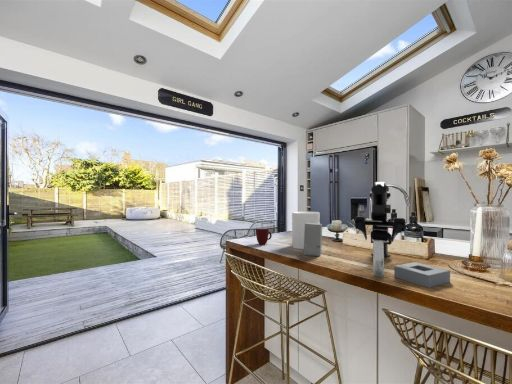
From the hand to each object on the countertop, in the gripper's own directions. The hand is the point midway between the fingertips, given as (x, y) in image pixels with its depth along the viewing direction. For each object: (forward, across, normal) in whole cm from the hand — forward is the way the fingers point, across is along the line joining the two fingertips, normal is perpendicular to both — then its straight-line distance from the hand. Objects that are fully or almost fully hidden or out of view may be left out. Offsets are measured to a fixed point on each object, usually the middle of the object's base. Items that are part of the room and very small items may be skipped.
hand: (378, 240), depth 98 cm
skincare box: (-3, -31, +20) cm, 37 cm away
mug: (-11, -64, +28) cm, 71 cm away
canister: (-14, -39, +32) cm, 53 cm away
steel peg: (+13, 0, +5) cm, 14 cm away
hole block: (+11, +14, +6) cm, 19 cm away
